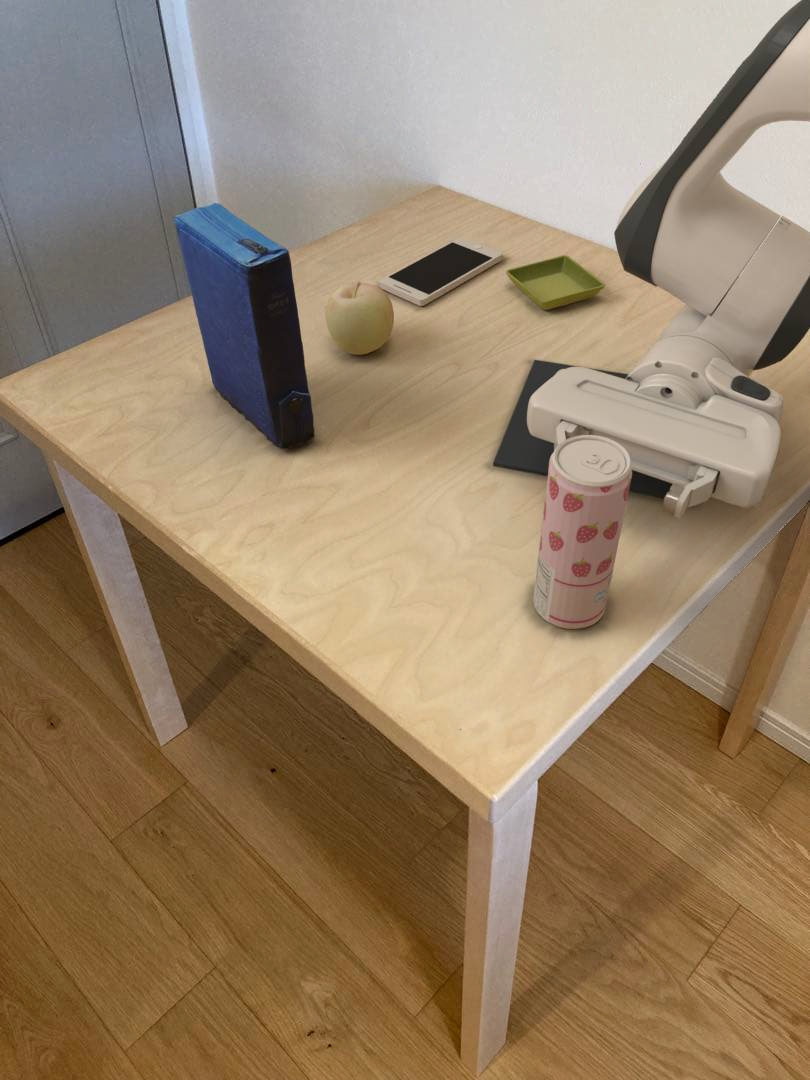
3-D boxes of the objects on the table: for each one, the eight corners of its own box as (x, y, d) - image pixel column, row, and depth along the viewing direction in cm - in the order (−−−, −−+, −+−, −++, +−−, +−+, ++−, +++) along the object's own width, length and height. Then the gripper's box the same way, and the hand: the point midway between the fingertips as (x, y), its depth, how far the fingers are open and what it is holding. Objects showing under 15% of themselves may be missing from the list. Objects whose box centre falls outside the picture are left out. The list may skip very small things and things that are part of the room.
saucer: (503, 285, 108) (504, 269, 106) (564, 269, 110) (566, 253, 109) (540, 319, 102) (542, 302, 101) (604, 301, 104) (607, 285, 103)
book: (325, 440, 87) (303, 246, 73) (278, 462, 85) (247, 266, 71) (250, 375, 95) (218, 190, 81) (206, 393, 93) (165, 206, 79)
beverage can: (603, 636, 69) (634, 489, 58) (529, 626, 70) (546, 479, 59) (606, 583, 73) (635, 436, 62) (536, 574, 74) (553, 428, 63)
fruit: (405, 355, 97) (403, 288, 92) (341, 370, 95) (335, 303, 90) (380, 322, 102) (377, 256, 97) (319, 335, 101) (312, 270, 95)
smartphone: (504, 259, 112) (504, 251, 112) (421, 307, 104) (421, 299, 104) (460, 242, 116) (461, 235, 115) (377, 287, 108) (377, 280, 107)
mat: (707, 389, 91) (708, 386, 91) (690, 502, 79) (691, 499, 79) (534, 362, 96) (534, 359, 95) (493, 465, 84) (493, 462, 83)
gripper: (568, 334, 79) (495, 414, 71) (804, 401, 71) (753, 501, 63) (561, 393, 84) (491, 475, 75) (783, 463, 76) (732, 564, 67)
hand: (612, 488), depth 69 cm, fingers open, 8 cm apart
